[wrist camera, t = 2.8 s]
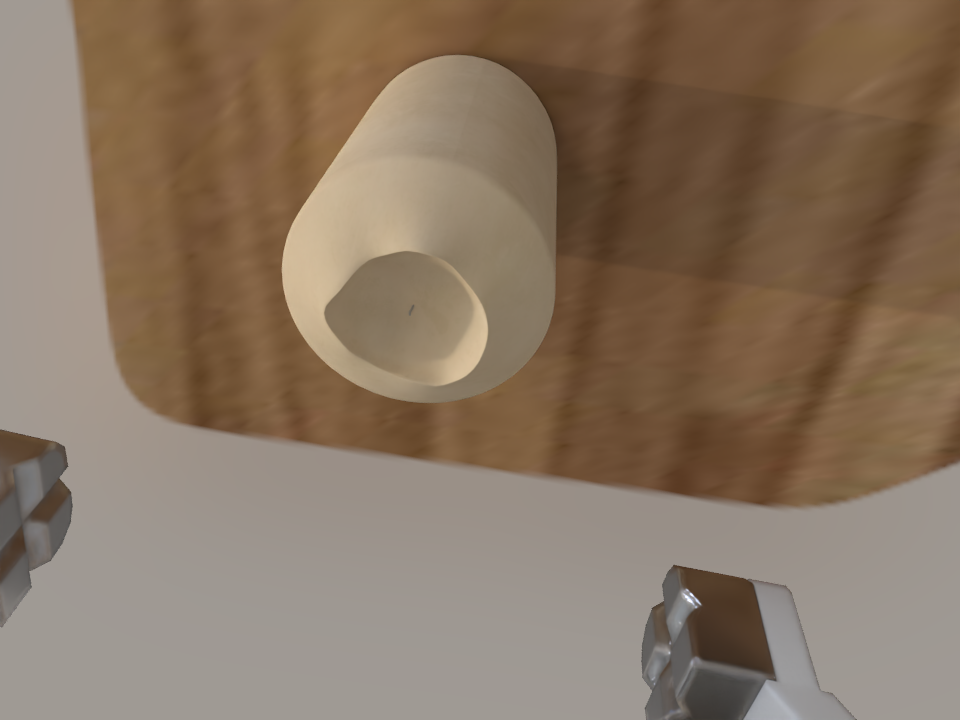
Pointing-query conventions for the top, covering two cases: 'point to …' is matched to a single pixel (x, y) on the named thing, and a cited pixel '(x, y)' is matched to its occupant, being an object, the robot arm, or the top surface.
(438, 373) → the candle
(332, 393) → the top surface
